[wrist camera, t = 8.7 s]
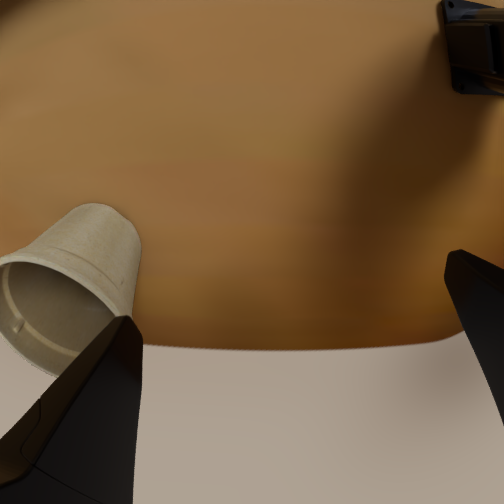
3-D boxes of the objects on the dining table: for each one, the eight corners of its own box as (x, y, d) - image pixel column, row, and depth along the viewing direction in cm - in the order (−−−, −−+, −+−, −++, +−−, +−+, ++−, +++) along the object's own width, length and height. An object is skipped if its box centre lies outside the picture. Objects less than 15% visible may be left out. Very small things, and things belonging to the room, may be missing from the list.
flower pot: (191, 269, 22) (174, 371, 15) (95, 308, 24) (61, 394, 17) (116, 153, 18) (46, 221, 10) (25, 218, 20) (-41, 292, 12)
